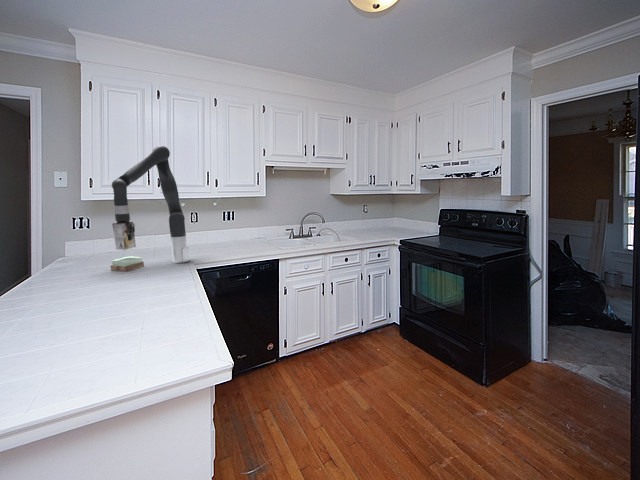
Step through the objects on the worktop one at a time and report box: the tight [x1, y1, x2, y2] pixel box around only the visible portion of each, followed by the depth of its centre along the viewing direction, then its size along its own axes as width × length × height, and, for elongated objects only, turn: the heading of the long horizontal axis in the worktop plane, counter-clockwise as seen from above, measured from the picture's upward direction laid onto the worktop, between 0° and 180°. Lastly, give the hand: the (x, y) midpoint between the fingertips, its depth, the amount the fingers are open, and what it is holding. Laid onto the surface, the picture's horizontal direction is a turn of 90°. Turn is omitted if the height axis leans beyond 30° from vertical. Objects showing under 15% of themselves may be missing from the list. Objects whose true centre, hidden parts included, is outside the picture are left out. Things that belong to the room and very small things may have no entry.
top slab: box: [111, 256, 143, 266], centre depth 198 cm, size 10×12×3 cm
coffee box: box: [112, 221, 137, 251], centre depth 196 cm, size 9×6×16 cm
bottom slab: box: [110, 261, 145, 272], centre depth 199 cm, size 12×13×4 cm
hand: (125, 240), depth 196 cm, fingers closed on coffee box, 6 cm apart
